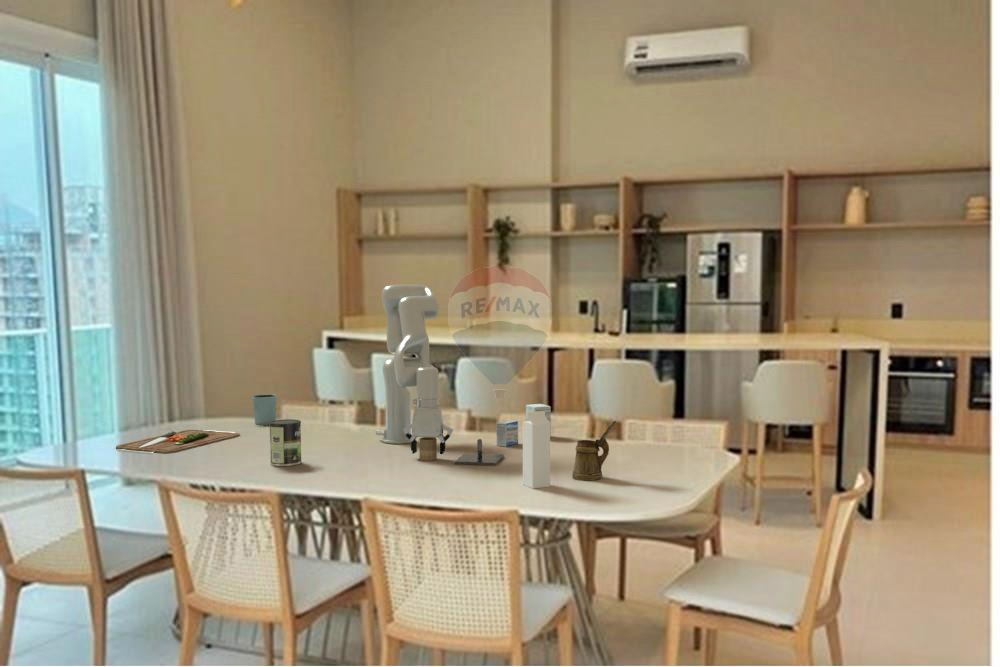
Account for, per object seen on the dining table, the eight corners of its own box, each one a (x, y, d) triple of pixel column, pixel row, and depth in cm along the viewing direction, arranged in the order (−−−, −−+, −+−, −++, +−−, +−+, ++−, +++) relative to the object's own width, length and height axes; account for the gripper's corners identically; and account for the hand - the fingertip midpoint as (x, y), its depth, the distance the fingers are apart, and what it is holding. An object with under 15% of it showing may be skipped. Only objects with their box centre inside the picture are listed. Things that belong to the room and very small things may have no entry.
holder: (454, 464, 282) (454, 442, 282) (464, 455, 296) (464, 434, 296) (496, 465, 280) (496, 443, 279) (504, 457, 293) (503, 436, 293)
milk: (522, 484, 253) (521, 411, 252) (540, 482, 256) (539, 409, 255) (532, 489, 248) (532, 413, 247) (550, 486, 251) (550, 412, 249)
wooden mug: (613, 482, 255) (613, 423, 254) (569, 479, 260) (569, 420, 259) (618, 476, 264) (619, 418, 263) (576, 473, 268) (576, 416, 267)
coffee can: (303, 459, 290) (303, 418, 290) (298, 466, 280) (298, 423, 279) (273, 460, 290) (272, 419, 289) (266, 466, 279) (266, 424, 279)
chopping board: (163, 456, 299) (163, 448, 299) (106, 451, 309) (106, 442, 309) (247, 435, 341) (247, 428, 341) (194, 431, 351) (193, 424, 351)
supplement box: (525, 436, 333) (525, 404, 332) (541, 435, 336) (541, 403, 336) (534, 439, 326) (534, 407, 326) (551, 438, 330) (551, 405, 329)
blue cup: (281, 422, 370) (281, 394, 370) (266, 425, 361) (265, 397, 361) (263, 420, 375) (262, 393, 374) (247, 424, 365) (247, 396, 365)
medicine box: (505, 447, 312) (505, 423, 311) (496, 445, 315) (496, 422, 314) (518, 444, 318) (518, 420, 318) (509, 442, 321) (508, 419, 320)
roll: (417, 460, 289) (417, 439, 289) (422, 456, 294) (422, 436, 294) (433, 460, 288) (433, 440, 288) (438, 457, 293) (438, 437, 293)
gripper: (399, 404, 288) (400, 454, 289) (449, 405, 285) (450, 456, 286) (406, 401, 295) (407, 450, 296) (455, 402, 292) (455, 452, 293)
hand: (428, 453), depth 291 cm, fingers open, 9 cm apart
